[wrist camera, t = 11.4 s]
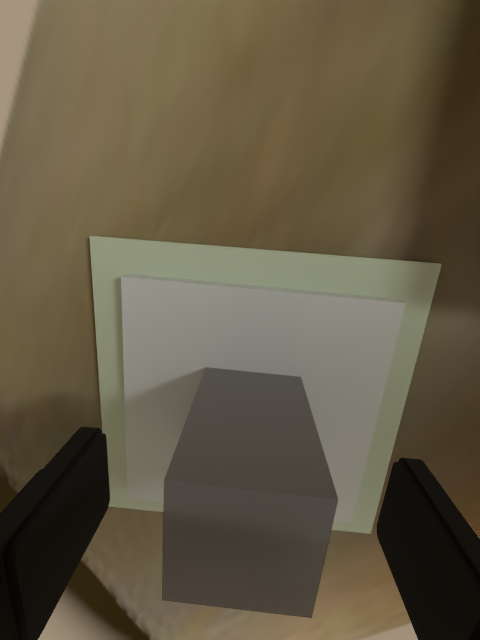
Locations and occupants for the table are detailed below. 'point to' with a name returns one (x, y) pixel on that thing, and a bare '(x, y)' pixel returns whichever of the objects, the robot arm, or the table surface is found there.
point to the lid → (250, 429)
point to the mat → (271, 271)
